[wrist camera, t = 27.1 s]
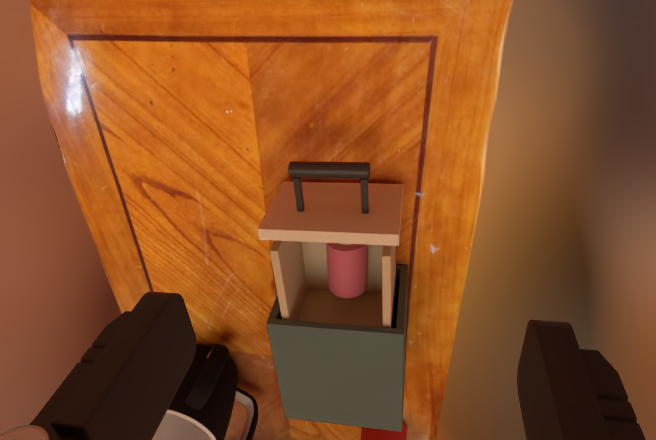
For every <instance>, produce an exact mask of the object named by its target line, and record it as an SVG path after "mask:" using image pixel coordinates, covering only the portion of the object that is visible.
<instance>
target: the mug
mask: <svg viewBox="0 0 656 440" xmlns="http://www.w3.org/2000/svg"><path fill="white" fill-rule="evenodd" d="M228 354H229V350H228V349H227V348H226V347H225V346H224V345H221V344H215V345H213V347H208V346H203V345H196V352H195V356H194V359H193V362H192V364H191V366H190V368H189V369H188V371H187V373H186V375H185V377H184V379H183V381H182V383H181V385H180V387H179V389H178V391H177V392H176V394H175V396H174V398H173V400H172V402H171V404H170V406H169V408H168V410H167V412H166V414H165V416H164V417H163V419H162V421H161V423H160V425H159V427H158V429H157V431H156V433H155V435H154V437H153V439H152V440H224V438H225V434H226V431H227V428H228V425H229V421H230V417H231V413H232V409H233V404H234V400H236V401H238V402H240V403H241V404H243V405H244V406H245V407H246V409H247V420H246V424H245V427H244V431H243V433H242V436H241V439H240V440H252V438H253V435H254V432H255V428H256V425H257V421H258V406H257V402H256V400H255V399H254V397H253V396H251V395H250V394H248V393H247V392H245V391H243V390H241V389H239V388H237V381H238V374H237V368H236V366H235V364H234V362H233V361H232V360H231V359H230V358H229V357H228Z"/></svg>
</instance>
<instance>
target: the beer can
mask: <svg viewBox="0 0 656 440" xmlns="http://www.w3.org/2000/svg"><path fill="white" fill-rule="evenodd" d="M361 440H407V428H406V426H405V424H404V422H402V432H400V431H391V430H383V429H374V428H366V427H362V434H361Z"/></svg>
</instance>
